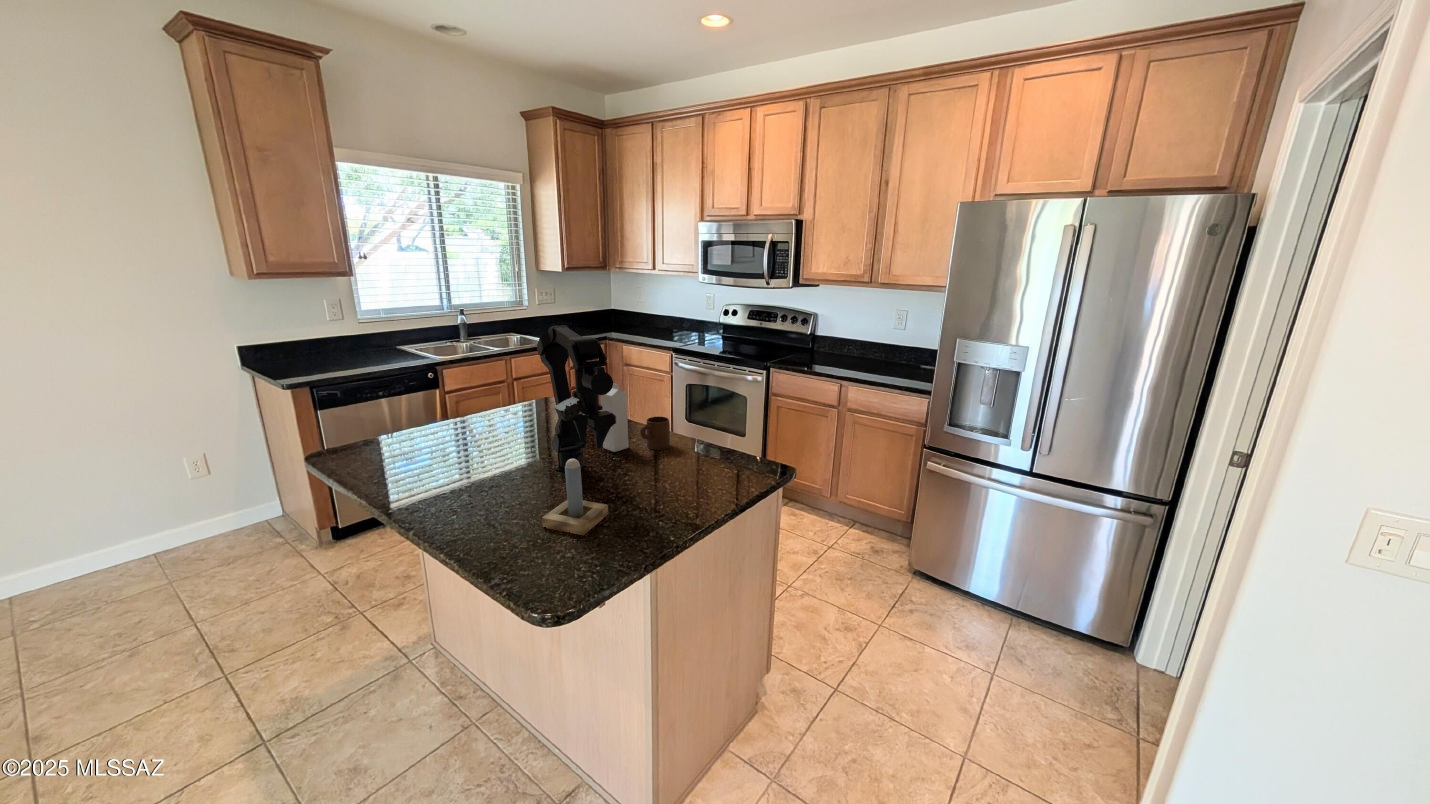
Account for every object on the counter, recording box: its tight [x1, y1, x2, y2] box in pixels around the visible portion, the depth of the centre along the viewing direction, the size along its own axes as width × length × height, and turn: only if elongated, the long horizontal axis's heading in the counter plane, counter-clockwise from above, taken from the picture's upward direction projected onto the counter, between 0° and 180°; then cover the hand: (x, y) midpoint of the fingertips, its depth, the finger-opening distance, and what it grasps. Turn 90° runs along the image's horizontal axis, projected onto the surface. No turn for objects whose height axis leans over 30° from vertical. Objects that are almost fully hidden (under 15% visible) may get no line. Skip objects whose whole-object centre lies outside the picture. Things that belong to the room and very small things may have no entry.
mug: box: [639, 416, 671, 451], centre depth 174 cm, size 12×8×9 cm, turn 145°
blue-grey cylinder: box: [564, 459, 584, 519], centre depth 125 cm, size 4×4×16 cm
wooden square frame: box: [541, 499, 609, 536], centre depth 127 cm, size 11×11×2 cm
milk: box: [600, 382, 630, 453], centre depth 172 cm, size 6×6×22 cm
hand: (590, 443), depth 141 cm, fingers open, 9 cm apart
